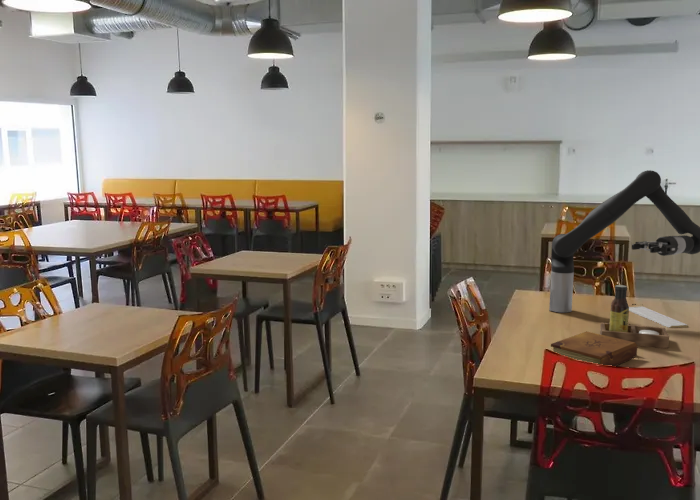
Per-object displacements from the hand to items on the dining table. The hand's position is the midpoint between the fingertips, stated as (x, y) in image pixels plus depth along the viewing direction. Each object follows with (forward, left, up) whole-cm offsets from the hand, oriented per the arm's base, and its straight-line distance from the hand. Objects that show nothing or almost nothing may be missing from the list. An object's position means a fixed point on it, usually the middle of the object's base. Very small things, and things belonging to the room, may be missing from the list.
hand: (641, 248), depth 252 cm
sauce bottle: (-8, -19, -31) cm, 38 cm away
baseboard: (+8, +21, -33) cm, 40 cm away
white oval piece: (+3, -20, -31) cm, 37 cm away
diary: (-17, -43, -33) cm, 56 cm away
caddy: (-3, -20, -32) cm, 38 cm away
